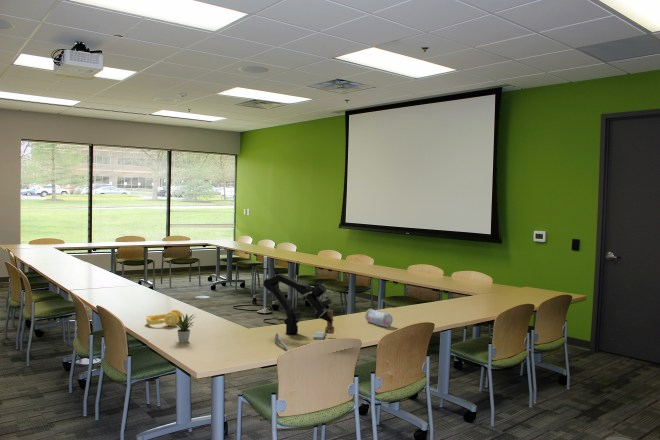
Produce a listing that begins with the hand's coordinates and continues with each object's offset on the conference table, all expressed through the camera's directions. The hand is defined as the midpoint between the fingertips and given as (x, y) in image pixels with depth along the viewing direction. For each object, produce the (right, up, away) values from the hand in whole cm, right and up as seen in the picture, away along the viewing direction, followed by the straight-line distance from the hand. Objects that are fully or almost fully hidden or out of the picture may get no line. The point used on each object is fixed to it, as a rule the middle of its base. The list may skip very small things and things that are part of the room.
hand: (332, 321), depth 306 cm
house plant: (-83, -9, -13) cm, 84 cm away
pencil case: (+31, -10, +38) cm, 50 cm away
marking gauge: (-2, -7, 0) cm, 7 cm away
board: (-8, -10, +4) cm, 13 cm away
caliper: (-27, -10, -23) cm, 37 cm away
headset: (-108, -7, +27) cm, 112 cm away
